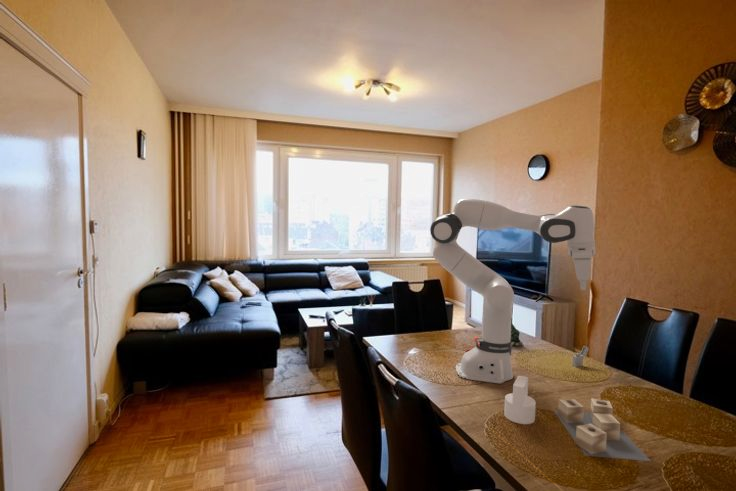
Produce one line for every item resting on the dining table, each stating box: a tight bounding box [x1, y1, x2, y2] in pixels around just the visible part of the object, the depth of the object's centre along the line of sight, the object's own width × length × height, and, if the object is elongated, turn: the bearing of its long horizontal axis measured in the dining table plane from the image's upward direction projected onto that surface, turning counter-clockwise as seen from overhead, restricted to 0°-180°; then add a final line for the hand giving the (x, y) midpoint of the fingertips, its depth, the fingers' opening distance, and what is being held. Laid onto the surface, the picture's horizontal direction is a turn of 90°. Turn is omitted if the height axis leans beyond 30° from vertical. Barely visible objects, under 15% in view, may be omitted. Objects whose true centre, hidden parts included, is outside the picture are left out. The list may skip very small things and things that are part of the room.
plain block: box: [592, 413, 621, 441], centre depth 108 cm, size 5×5×5 cm
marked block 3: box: [575, 423, 607, 454], centre depth 102 cm, size 5×5×5 cm
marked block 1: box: [557, 398, 585, 423], centre depth 117 cm, size 5×5×5 cm
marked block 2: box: [589, 397, 614, 420], centre depth 117 cm, size 5×5×5 cm
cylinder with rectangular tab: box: [503, 375, 537, 425], centre depth 118 cm, size 9×9×12 cm
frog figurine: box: [510, 322, 529, 347], centre depth 190 cm, size 18×18×12 cm
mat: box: [553, 409, 652, 462], centre depth 110 cm, size 16×24×1 cm, turn 172°
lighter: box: [572, 345, 590, 368], centre depth 162 cm, size 7×2×8 cm, turn 109°
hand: (583, 286), depth 139 cm, fingers open, 8 cm apart
